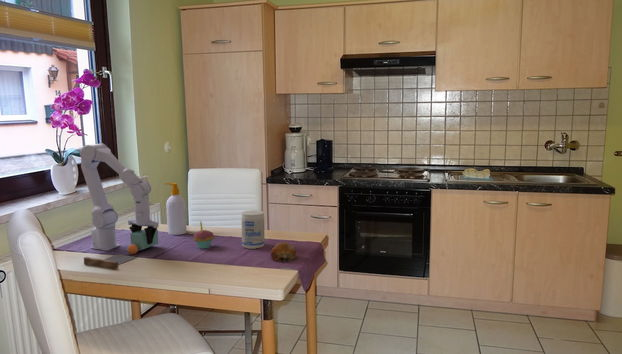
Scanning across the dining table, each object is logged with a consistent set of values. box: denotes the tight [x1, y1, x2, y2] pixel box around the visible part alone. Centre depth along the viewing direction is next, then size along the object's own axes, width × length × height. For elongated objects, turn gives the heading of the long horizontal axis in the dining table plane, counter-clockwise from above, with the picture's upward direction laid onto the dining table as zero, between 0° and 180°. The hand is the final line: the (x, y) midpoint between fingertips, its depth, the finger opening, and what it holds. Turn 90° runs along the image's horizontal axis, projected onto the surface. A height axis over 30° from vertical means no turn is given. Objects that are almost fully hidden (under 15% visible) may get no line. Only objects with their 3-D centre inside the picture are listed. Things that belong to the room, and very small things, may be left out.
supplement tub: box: [241, 209, 265, 250], centre depth 199 cm, size 10×10×15 cm
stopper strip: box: [83, 256, 119, 270], centre depth 176 cm, size 16×1×2 cm, turn 66°
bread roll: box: [270, 242, 297, 263], centre depth 184 cm, size 10×10×8 cm
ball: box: [127, 243, 139, 255], centre depth 191 cm, size 4×4×4 cm
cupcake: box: [193, 220, 215, 249], centre depth 199 cm, size 9×8×12 cm
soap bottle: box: [164, 182, 188, 236], centre depth 221 cm, size 9×9×24 cm
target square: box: [103, 253, 138, 266], centre depth 184 cm, size 10×10×1 cm
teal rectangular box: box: [129, 228, 159, 251], centre depth 197 cm, size 6×10×6 cm, turn 157°
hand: (144, 242), depth 197 cm, fingers closed on teal rectangular box, 6 cm apart
